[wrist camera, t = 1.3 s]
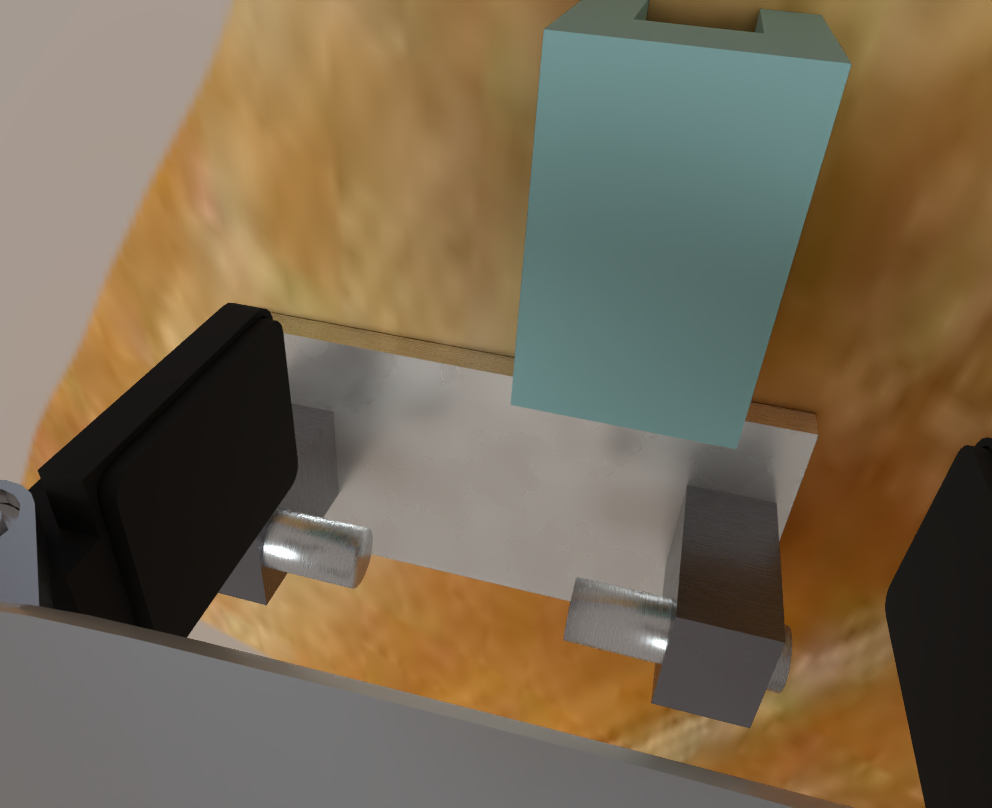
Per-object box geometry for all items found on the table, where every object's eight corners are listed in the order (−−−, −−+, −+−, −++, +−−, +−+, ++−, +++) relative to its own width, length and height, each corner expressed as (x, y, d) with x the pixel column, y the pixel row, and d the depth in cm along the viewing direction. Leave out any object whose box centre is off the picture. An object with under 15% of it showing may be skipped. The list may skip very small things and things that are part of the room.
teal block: (821, 14, 20) (851, 64, 15) (736, 329, 25) (736, 449, 20) (592, -9, 21) (543, 29, 15) (556, 298, 26) (510, 404, 21)
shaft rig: (742, 618, 31) (743, 786, 26) (279, 511, 35) (187, 638, 29) (815, 414, 26) (838, 570, 20) (254, 309, 29) (133, 416, 23)
